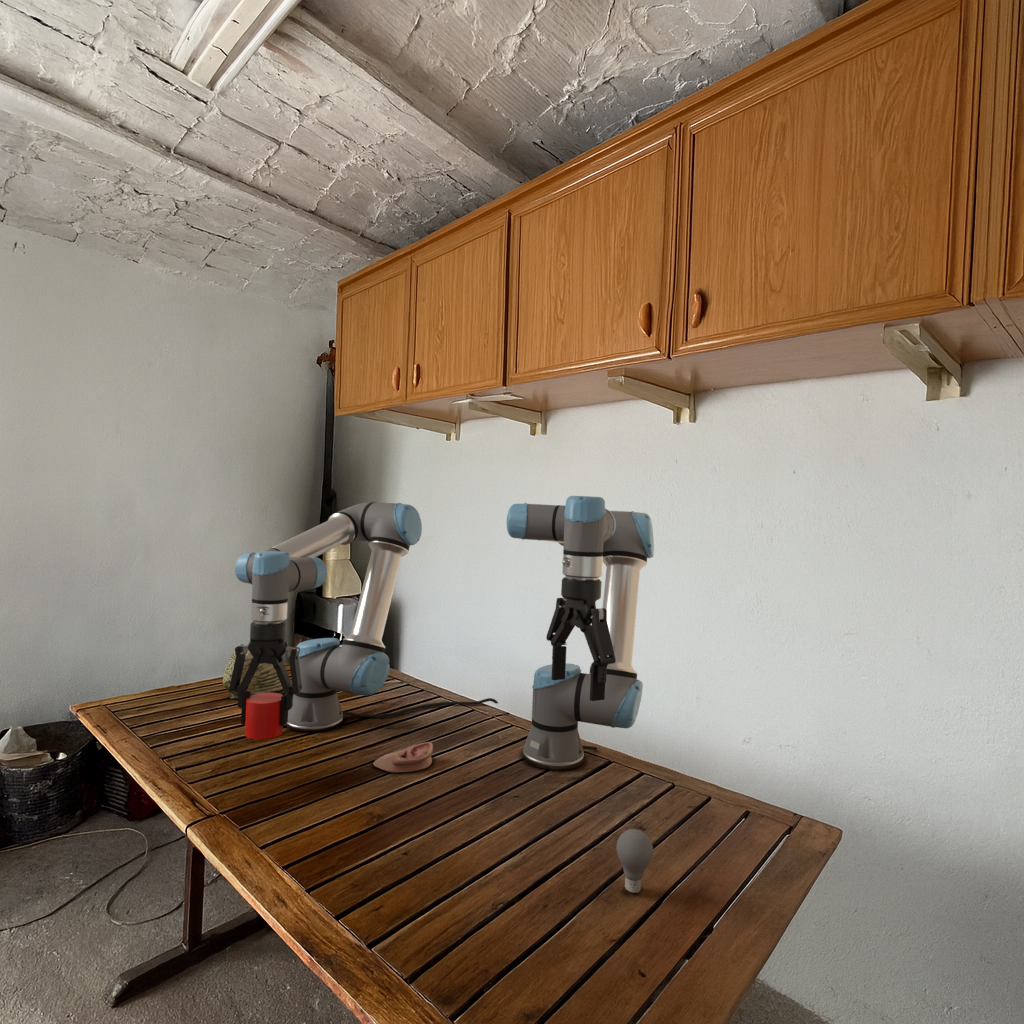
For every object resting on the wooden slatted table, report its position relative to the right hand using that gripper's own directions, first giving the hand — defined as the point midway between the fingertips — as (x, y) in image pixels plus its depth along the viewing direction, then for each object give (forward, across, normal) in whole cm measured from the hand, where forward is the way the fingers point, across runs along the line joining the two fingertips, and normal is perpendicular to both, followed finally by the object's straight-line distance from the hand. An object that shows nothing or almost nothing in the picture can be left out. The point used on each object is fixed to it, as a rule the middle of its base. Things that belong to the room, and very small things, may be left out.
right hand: (576, 689), depth 120 cm
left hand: (+17, -48, -50) cm, 72 cm away
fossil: (+29, -110, -47) cm, 124 cm away
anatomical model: (+29, -45, -19) cm, 57 cm away
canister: (+19, -48, -50) cm, 72 cm away
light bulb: (+29, +18, +1) cm, 34 cm away
